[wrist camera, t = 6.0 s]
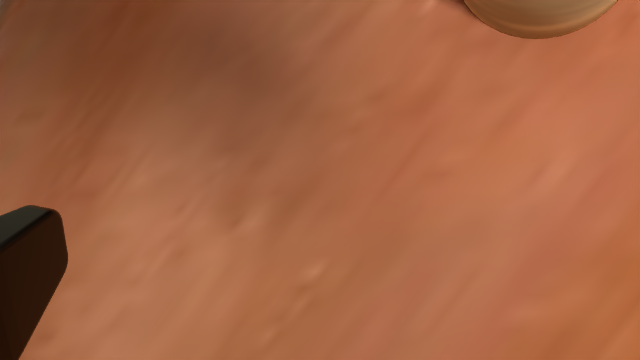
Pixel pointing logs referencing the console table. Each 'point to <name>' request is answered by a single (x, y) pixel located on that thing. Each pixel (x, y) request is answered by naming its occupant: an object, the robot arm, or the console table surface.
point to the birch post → (538, 15)
